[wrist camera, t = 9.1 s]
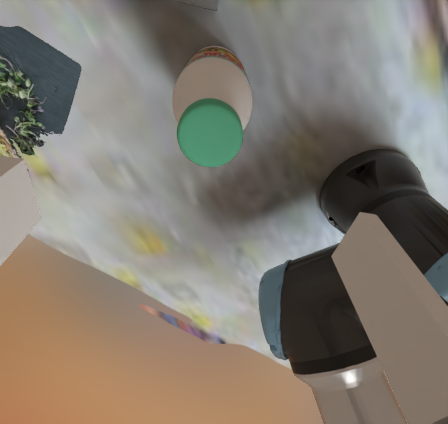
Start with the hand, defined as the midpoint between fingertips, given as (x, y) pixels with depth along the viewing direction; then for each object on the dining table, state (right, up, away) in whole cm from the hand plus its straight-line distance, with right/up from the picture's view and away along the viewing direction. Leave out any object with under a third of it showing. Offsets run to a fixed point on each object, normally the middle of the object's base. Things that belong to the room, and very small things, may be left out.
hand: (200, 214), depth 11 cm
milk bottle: (0, +17, +23) cm, 29 cm away
